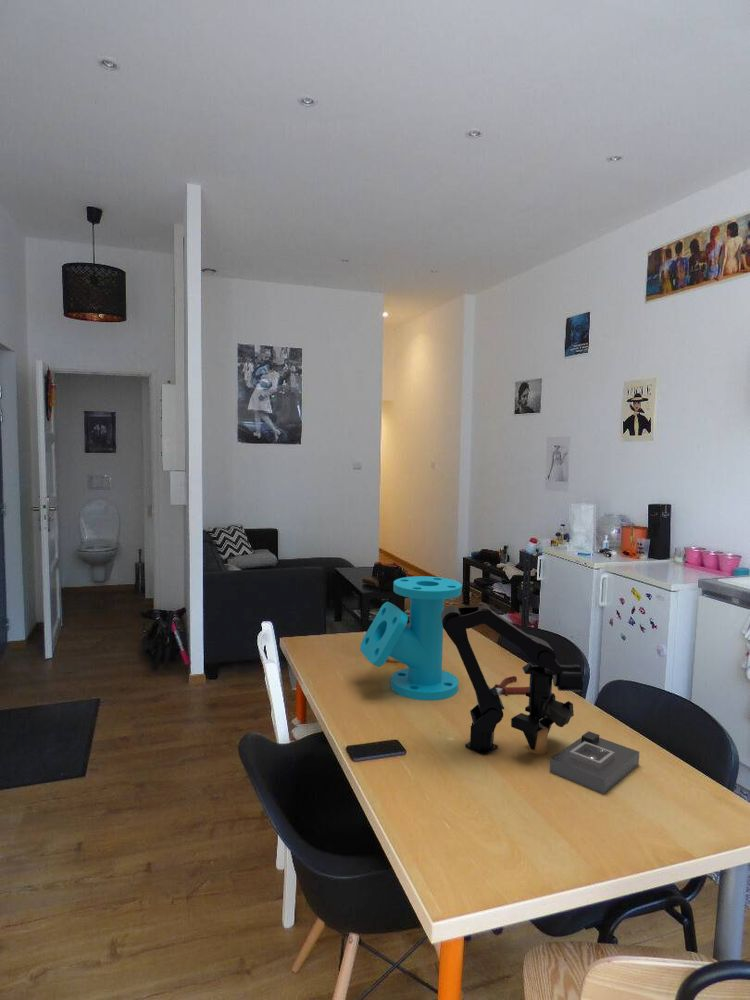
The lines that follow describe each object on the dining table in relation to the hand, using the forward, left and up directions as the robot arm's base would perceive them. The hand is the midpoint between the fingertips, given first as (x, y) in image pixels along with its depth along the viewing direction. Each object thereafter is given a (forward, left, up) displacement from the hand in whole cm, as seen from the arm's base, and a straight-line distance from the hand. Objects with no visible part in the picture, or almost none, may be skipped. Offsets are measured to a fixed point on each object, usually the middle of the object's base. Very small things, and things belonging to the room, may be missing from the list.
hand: (537, 746), depth 168 cm
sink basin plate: (+2, -15, -1) cm, 15 cm away
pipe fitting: (+7, +51, -1) cm, 51 cm away
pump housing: (0, 0, -1) cm, 1 cm away
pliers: (+29, +29, -2) cm, 41 cm away
